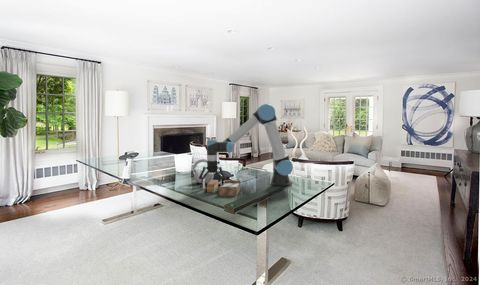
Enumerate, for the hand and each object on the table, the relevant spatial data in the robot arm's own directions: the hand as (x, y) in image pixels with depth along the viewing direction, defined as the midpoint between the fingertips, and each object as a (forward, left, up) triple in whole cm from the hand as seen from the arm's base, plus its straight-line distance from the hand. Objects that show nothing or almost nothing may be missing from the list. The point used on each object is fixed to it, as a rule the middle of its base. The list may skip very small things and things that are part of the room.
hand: (212, 188), depth 197 cm
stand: (-14, +4, -1) cm, 15 cm away
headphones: (+12, -18, -1) cm, 22 cm away
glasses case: (0, 0, -1) cm, 1 cm away
